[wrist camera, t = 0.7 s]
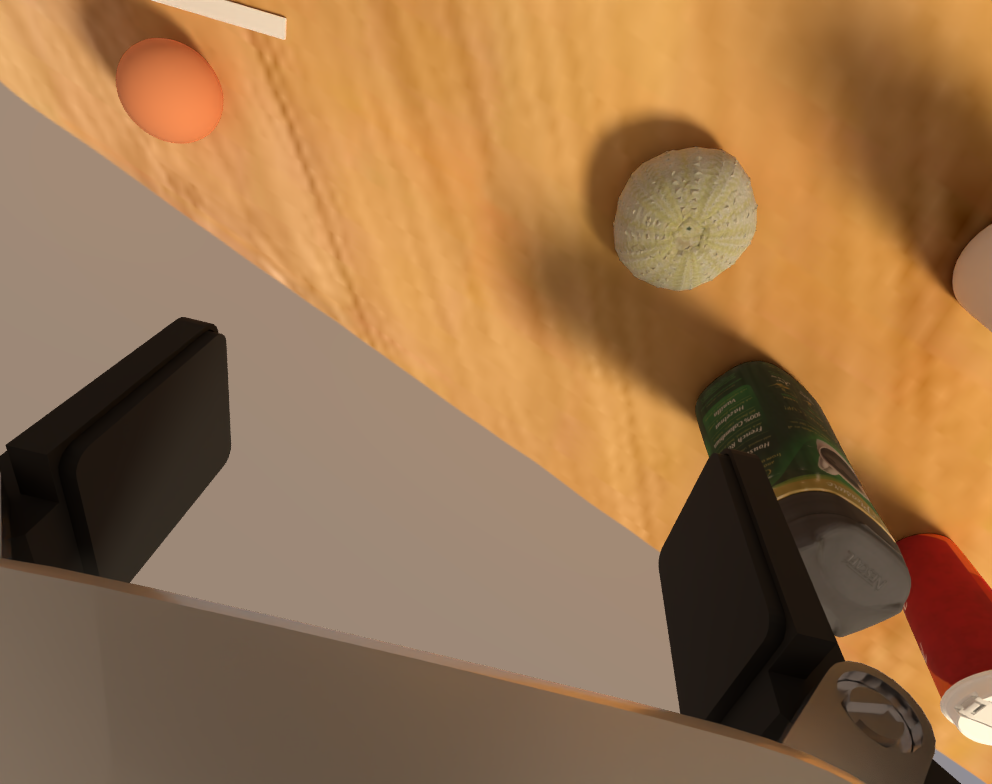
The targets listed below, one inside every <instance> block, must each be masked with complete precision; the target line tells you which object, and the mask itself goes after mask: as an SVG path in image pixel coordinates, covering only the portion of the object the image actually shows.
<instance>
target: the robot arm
mask: <svg viewBox="0 0 992 784" xmlns="http://www.w3.org/2000/svg"><path fill="white" fill-rule="evenodd" d="M6 448H7V451H6V452H5V453H3V454H2V455H1V456H0V784H961V783H959V782H958V781H957V780H956V779H955V778H954V777H953V776H951V775H950V774H949V773H948V772H947V771H946V770H944V769H943V768H942V767H941V766H940V765H939V764H938V763H937V762H935V761H934V760H933V756H934V753H935V742H936V740H935V737H934V733H933V730H932V726H931V724H930V722H929V721H928V719H927V717H926V715H925V714H924V712H923V710H922V709H921V707H920V706H919V705H918V704H917V703H916V701H915V700H914V699H913V698H912V697H911V695H910V694H909V693H908V692H907V691H905V690H904V689H903V688H902V687H901V686H900V685H899V684H898V683H896V682H895V681H894V680H893V679H891V678H890V677H888V676H887V675H885V674H883V673H882V672H880V671H879V670H877V669H875V668H872V667H870V666H867V665H865V664H863V663H858V662H852V661H845V660H844V657H843V655H842V653H841V650H840V648H839V645H838V643H837V641H836V638H835V636H834V633H833V631H832V629H831V626H830V624H829V622H828V619H827V617H826V614H825V612H824V610H823V607H822V605H821V603H820V600H819V598H818V595H817V593H816V591H815V588H814V586H813V583H812V581H811V579H810V576H809V574H808V572H807V569H806V567H805V564H804V562H803V560H802V557H801V555H800V553H799V550H798V548H797V545H796V543H795V541H794V538H793V536H792V534H791V531H790V529H789V526H788V524H787V522H786V519H785V517H784V514H783V512H782V510H781V507H780V505H779V503H778V500H777V498H776V495H775V493H774V491H773V488H772V486H771V484H770V481H769V479H768V476H767V474H766V472H765V469H764V467H763V464H762V462H761V460H760V458H759V457H758V456H757V455H755V454H751V453H747V452H743V451H738V450H734V449H730V448H725V449H724V450H723V451H721V453H720V454H718V453H713V454H712V455H711V456H710V457H709V459H708V461H707V463H706V465H705V466H704V468H703V470H702V472H701V474H700V476H699V478H698V480H697V482H696V484H695V486H694V488H693V490H692V491H691V493H690V495H689V497H688V499H687V501H686V503H685V505H684V507H683V509H682V511H681V513H680V515H679V517H678V518H677V520H676V522H675V524H674V526H673V528H672V530H671V532H670V534H669V536H668V538H667V540H666V542H665V543H664V545H663V547H662V550H661V552H660V556H659V573H660V580H661V586H662V593H663V600H664V606H665V613H666V620H667V626H668V634H669V640H670V647H671V654H672V660H673V667H674V674H675V681H676V687H677V694H678V701H679V708H680V714H679V713H675V712H672V711H668V710H664V709H660V708H656V707H652V706H648V705H644V704H641V703H636V702H633V701H629V700H625V699H621V698H617V697H613V696H609V695H604V694H600V693H596V692H592V691H588V690H584V689H579V688H575V687H571V686H567V685H563V684H559V683H555V682H550V681H546V680H542V679H538V678H534V677H530V676H526V675H522V674H517V673H513V672H509V671H505V670H501V669H497V668H493V667H488V666H484V665H480V664H476V663H471V662H467V661H463V660H459V659H455V658H450V657H446V656H442V655H438V654H434V653H429V652H425V651H421V650H417V649H413V648H408V647H403V646H400V645H396V644H391V643H387V642H383V641H378V640H374V639H370V638H366V637H361V636H357V635H353V634H348V633H345V632H340V631H336V630H332V629H328V628H323V627H319V626H314V625H311V624H306V623H302V622H298V621H293V620H289V619H285V618H280V617H276V616H272V615H267V614H263V613H259V612H254V611H250V610H245V609H241V608H237V607H232V606H228V605H224V604H219V603H215V602H211V601H206V600H202V599H198V598H193V597H189V596H185V595H180V594H176V593H172V592H167V591H163V590H159V589H154V588H150V587H145V586H140V585H136V584H131V583H130V582H131V580H132V579H133V578H134V576H135V575H136V574H137V573H138V572H139V571H140V569H141V568H142V567H143V566H144V564H145V563H146V562H147V560H148V559H149V558H150V557H151V556H152V554H153V553H154V552H155V551H156V549H157V548H158V547H159V546H160V544H161V543H162V542H163V541H164V539H165V538H166V537H167V536H168V534H169V533H170V532H171V531H172V529H173V528H174V527H175V526H176V524H177V523H178V522H179V521H180V520H181V518H182V517H183V516H184V515H185V513H186V512H187V511H188V510H189V508H190V507H191V506H192V505H193V503H194V502H195V501H196V500H197V498H198V497H199V496H200V495H201V493H202V492H203V491H204V490H205V488H206V487H207V486H208V485H209V483H210V482H211V481H212V480H213V478H214V477H215V476H216V475H217V473H218V472H219V471H220V470H221V469H222V467H223V466H224V465H225V463H226V461H227V459H228V457H229V454H230V450H231V435H230V412H229V390H228V369H227V348H226V338H225V336H224V335H223V334H219V333H218V329H217V327H216V326H215V325H214V324H211V323H207V322H202V321H198V320H194V319H190V318H186V317H181V318H178V319H177V320H175V321H174V322H173V323H171V324H170V325H168V326H167V327H166V328H164V329H163V330H162V331H161V332H159V333H158V334H156V335H155V336H153V337H152V338H151V339H150V340H148V341H147V342H145V343H144V344H143V345H141V346H140V347H139V348H137V349H136V350H134V351H133V352H132V353H131V354H129V355H128V356H126V357H125V358H124V359H122V360H121V361H119V362H118V363H117V364H116V365H114V366H113V367H111V368H110V369H109V370H107V371H106V372H105V373H103V374H102V375H100V376H99V377H98V378H96V379H95V380H94V381H92V382H91V383H89V384H88V385H87V386H85V387H84V388H83V389H81V390H80V391H79V392H77V393H76V394H74V395H73V396H72V397H70V398H69V399H68V400H66V401H65V402H64V403H62V404H61V405H60V406H58V407H57V408H55V409H54V410H53V411H51V412H50V413H49V414H47V415H46V416H45V417H43V418H42V419H40V420H39V421H38V422H36V423H35V424H34V425H32V426H31V427H30V428H28V429H27V430H25V431H24V432H23V433H21V434H20V435H19V436H17V437H16V438H15V439H13V440H12V441H10V442H9V443H8V444H6Z"/></svg>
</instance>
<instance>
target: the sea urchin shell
mask: <svg viewBox="0 0 992 784" xmlns="http://www.w3.org/2000/svg"><path fill="white" fill-rule="evenodd" d="M617 205H618V207H617V212H616V214H615V219H614V220H615V221H614V223H613V227H614V238H615V250H616V252H617V254H618V256H619V260H620V261H621V262H622V263H623V264H624V265H625V266H626V267H627V268H628V269H629V270H630V272H631V273H633V276H635V277H637V278H638V279H639V280H643V281H645V282H647V283H649V284H651V285H654V286H656V287H658V288H659V287H661V288H665V289H670V290H674V291H682V290H691V289H693V288H695V287H697V286H699V285H701V284H703V283H706V282H708V281H712V280H713V279H714V278H715V277H716V276H718V275H719V274H720V273H721V272H723V271H724V270H726V269H727V268H730V267H731V265H733V264H735V262H736V260H737V259H738V258H739V257H740V256H741V254H742V253H743V252H744V251H745V250H746V248H747V247H748V246H749V245H750V244H751V240H752V238H753V236H754V233H755V231H756V223H757V206H758V205H757V204H756V202H755V198H754V195H753V190H752V187H751V183H750V178H749V177H748V175H747V174H746V173H745V171H744V170H743V168H742V167H741V165H740V164H739V162H738V161H737V160H736V158H735V157H733V156H732V155H730V154H728V153H726V152H725V151H723V150H722V149H719V150H718V149H708V148H703V147H697V146H695V147H691V148H685V149H681V150H671V151H665V152H664V153H663V154H661V155H658V156H656V157H654V158H652V159H650V160H648V161H646V162H644V163H642V165H640V166H639V167H638V168H637V169H636V170H635V171H634V172H633V173H632V174H631V177H630V178H629V179H628V181H627V184H626V186H625V188H624V189H623V191H622V193H621V195H620V196H619V201H618V204H617Z"/></svg>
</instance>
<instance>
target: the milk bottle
mask: <svg viewBox="0 0 992 784" xmlns="http://www.w3.org/2000/svg"><path fill="white" fill-rule="evenodd" d="M952 283H953V291H954V294H955V297H956V299H957V301H958V302H959V303H960V305H961V306H962V307H963V308H964V309H965V310H966V311H968V312H969V313H970V314H971V315H972V316H973V317H974V318H976V319H977V320H978V321H979V322H980V323H982V324H983V325H984V326H985V327H986V328H988V329H989V330H990V331H991V332H992V224H990V225H989V226H987V227H986V228H985V229H983V230H982V231H980V232H979V233H978V234H977V235H976V236H975V237H974V238H973V239H972V240H971V241H970V242H969V243H968V245H967V246H966V247H965V248H964V250H963V251H962V252H961V254H960V256H959V258H958V260H957V261H956V265H955V268H954V271H953V280H952Z"/></svg>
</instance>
